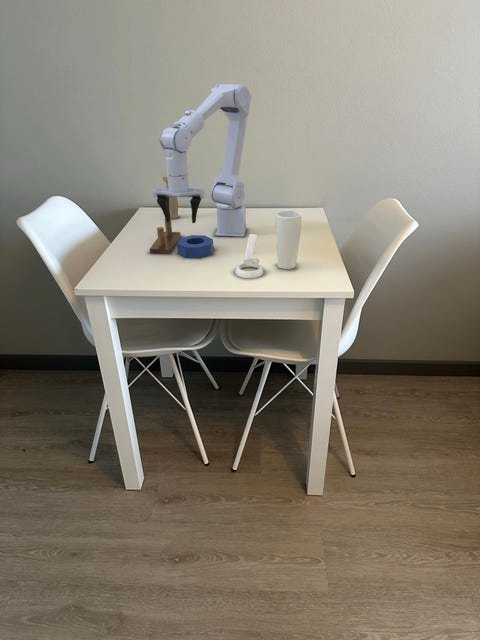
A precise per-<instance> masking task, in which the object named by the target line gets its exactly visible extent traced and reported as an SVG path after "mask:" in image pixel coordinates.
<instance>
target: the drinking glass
mask: <svg viewBox="0 0 480 640" xmlns="http://www.w3.org/2000/svg"><path fill="white" fill-rule="evenodd" d="M301 230H302V213H301V212H300V211H297V210H293V209H292V210H291V209H285V210H284V209H283V210H279V211H277V212H276V213H275V240H276V241H275V243H276V265H277V267H278V268H280V269H282V270H293V269H295V268H296V266H297V262H298V261H297V260H298V259H297V258H298V251H299V245H300V238H301Z"/></svg>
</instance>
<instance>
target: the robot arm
mask: <svg viewBox="0 0 480 640" xmlns="http://www.w3.org/2000/svg"><path fill="white" fill-rule="evenodd" d="M251 99H252V94H251V93H250V89H249V87H248V86H247V85H245V84H243V83H240V84H235V83H234V84H231V83H220V82H219V83H217V84H216V85H214V87H212V88H211V90H210V94H209V95H208V97H206V99H205V100H204V101H203V102H202V103H201V104H200V105H199V106H198V107H197V108H196V110H193V109H190V110H186V111H185V112H184V115H182V117H180V118H179V120H178V121H175V122H174V123H173V125H172V126H171V127H170V126H169V127H166V128H164V129H163V130H162V132H161V134H160V139H158V140H159V142H158V143H159V145H160V147H161V148H162V150H163V155H164V156H165V165H166V174H167V177H168V188H166V187H165V188H154V189H153V190H152V193H153V194H152V195H153V198H157V199H156V203H157V204H158V206H159V207H160V209H161V211H162V213H163V215H164V219H165V218H166V222H169V221H170V210H169V197H177V198H191V199H190V200H189V203H190V208H191V223H192V224H195V223H196V222H197V215H198V210H199V207H200V204H201V201H202V199H204V198H205V197H206V190H205V189H198V188H191V187H190V185H189V183H190V182H189V171H188V169H189V168H188V156H187V155H188V153H187V151H188V150H189V149H190V146H191V144H192V143H191V142H192V141H193V138H195V137H196V136H197V134H199V133H200V132H201V131H202V130H203V129H204V128H205V122H206V120H207V119H209V118H210V117H211V116H212V115H213V114H215V113H216V112H217V111H218V110H220V112H222V113H223V114H224V115H225V116H226V117H227V120H228V127H227V133H226V140H225V148H224V154H223V155H224V156H223V161H222V168H221V173H220V174H219V175H217V176H216V177H215V178H214V182H213V185H212V187H211V190H210V198H211V201H212V202H213V203H214V206H216V223H217V226H216V227H217V228H216V231H215V233H214V236H215V237H239V238H240V237H241V238H242V237H244V236H245V234H246V230H247V209H246V206H244V205H242V204H243V203H244V201H245V182H244V181H243V179H241V178H240V177H239V174H240V168H241V164H242V163H241V162H242V156H243V150H244V143H245V138H246V131H247V126H248V119H249V113H250V105H251Z"/></svg>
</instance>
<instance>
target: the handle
mask: <svg viewBox="0 0 480 640" xmlns="http://www.w3.org/2000/svg"><path fill="white" fill-rule="evenodd" d="M162 181H163V182H165V188H168V177H167V173H163V174H162ZM178 201H179V199H178V197H169V210H170V218H171V220H175V219H178V218H179V202H178Z"/></svg>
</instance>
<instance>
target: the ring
mask: <svg viewBox="0 0 480 640" xmlns="http://www.w3.org/2000/svg"><path fill="white" fill-rule="evenodd" d="M176 246H177V254H178V255H179V256H181V257H184V258H186V259H202V258H205V257H208V256H211V255H212V254H213V252H214V239H213V238H211V237H209V236H207V235H200V234H190V235H186V236H183V237H180V239H179V240H178V242H177V243H176Z"/></svg>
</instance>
